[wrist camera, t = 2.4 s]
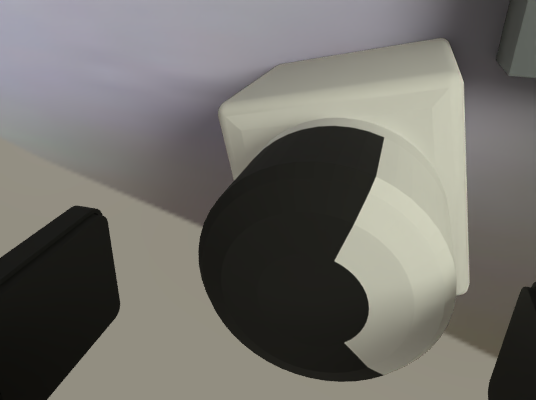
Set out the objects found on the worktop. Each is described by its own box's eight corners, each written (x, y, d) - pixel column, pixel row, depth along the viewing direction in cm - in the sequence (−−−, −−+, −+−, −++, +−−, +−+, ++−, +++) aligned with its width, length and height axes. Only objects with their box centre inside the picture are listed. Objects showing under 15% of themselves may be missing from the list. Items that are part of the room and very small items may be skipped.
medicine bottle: (301, 209, 23) (206, 404, 13) (274, 64, 20) (124, 164, 10) (456, 201, 21) (491, 435, 10) (449, 35, 18) (488, 128, 8)
